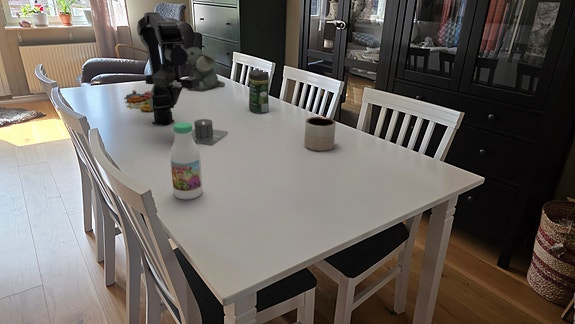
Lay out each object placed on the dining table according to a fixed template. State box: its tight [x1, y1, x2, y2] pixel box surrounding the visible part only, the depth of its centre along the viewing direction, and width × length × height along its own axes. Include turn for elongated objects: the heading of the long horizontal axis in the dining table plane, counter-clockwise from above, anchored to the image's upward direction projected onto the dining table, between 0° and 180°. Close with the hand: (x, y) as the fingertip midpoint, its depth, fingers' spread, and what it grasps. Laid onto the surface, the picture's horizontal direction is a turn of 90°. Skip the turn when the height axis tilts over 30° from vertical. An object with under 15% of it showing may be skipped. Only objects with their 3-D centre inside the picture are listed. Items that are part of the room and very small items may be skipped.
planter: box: [303, 116, 337, 152], centre depth 139 cm, size 11×11×10 cm
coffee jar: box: [248, 69, 270, 114], centre depth 174 cm, size 10×8×19 cm
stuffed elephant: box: [181, 44, 226, 92], centre depth 208 cm, size 19×21×27 cm
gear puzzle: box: [123, 89, 155, 112], centre depth 182 cm, size 31×16×4 cm, turn 25°
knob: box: [193, 118, 214, 138], centre depth 144 cm, size 7×7×5 cm
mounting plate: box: [192, 128, 229, 146], centre depth 144 cm, size 13×13×5 cm
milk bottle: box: [169, 121, 203, 200], centre depth 102 cm, size 8×8×20 cm
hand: (174, 104), depth 139 cm, fingers closed
